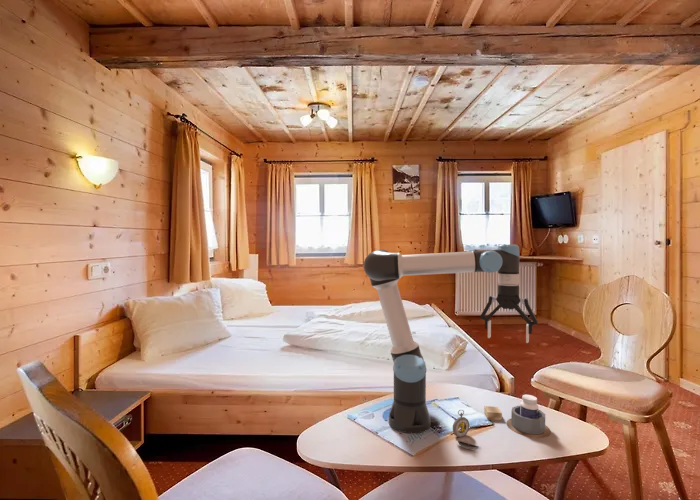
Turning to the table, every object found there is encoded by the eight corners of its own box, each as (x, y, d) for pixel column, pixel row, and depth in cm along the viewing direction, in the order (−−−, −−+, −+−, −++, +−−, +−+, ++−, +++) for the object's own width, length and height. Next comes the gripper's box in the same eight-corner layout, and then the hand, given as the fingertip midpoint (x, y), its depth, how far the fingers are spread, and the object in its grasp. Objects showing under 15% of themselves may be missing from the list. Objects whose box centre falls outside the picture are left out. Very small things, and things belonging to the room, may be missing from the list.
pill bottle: (540, 429, 124) (541, 401, 124) (523, 428, 125) (524, 400, 124) (533, 421, 130) (534, 394, 129) (517, 420, 130) (518, 393, 130)
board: (503, 434, 125) (503, 430, 125) (508, 417, 137) (509, 414, 137) (550, 445, 118) (550, 442, 118) (551, 426, 130) (551, 423, 130)
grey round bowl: (510, 429, 126) (510, 415, 125) (513, 417, 135) (513, 403, 135) (544, 438, 120) (544, 422, 120) (545, 424, 129) (545, 409, 129)
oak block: (487, 423, 133) (487, 412, 133) (484, 416, 138) (484, 406, 138) (501, 423, 132) (501, 413, 132) (497, 417, 137) (498, 406, 137)
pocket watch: (476, 453, 114) (476, 421, 114) (450, 445, 118) (450, 414, 118) (482, 440, 121) (482, 411, 121) (457, 433, 125) (457, 405, 125)
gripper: (472, 283, 142) (472, 337, 143) (544, 287, 129) (544, 346, 130) (476, 281, 149) (476, 333, 149) (545, 285, 136) (545, 341, 136)
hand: (507, 339), depth 140 cm, fingers open, 13 cm apart
